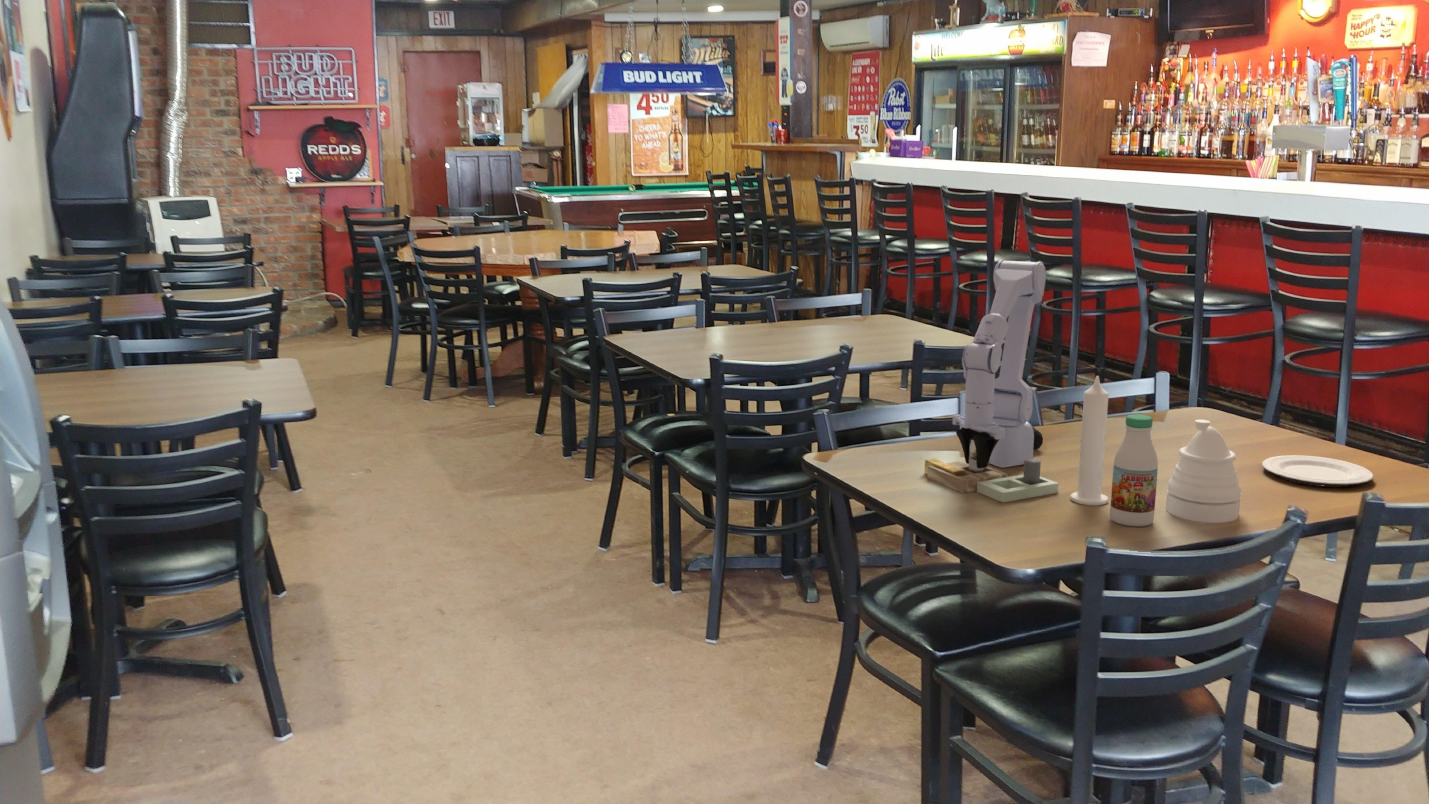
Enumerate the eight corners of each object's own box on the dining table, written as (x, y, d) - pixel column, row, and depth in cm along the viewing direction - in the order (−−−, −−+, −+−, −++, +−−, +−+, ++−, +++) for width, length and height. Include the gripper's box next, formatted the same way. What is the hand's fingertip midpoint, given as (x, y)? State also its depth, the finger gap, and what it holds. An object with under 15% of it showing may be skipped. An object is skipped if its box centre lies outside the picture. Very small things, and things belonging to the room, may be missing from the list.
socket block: (969, 470, 245) (970, 459, 245) (1006, 485, 235) (1007, 473, 234) (927, 477, 240) (927, 466, 240) (963, 492, 230) (963, 481, 229)
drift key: (933, 471, 244) (934, 458, 244) (963, 484, 236) (963, 470, 235) (924, 473, 243) (925, 459, 243) (953, 485, 235) (954, 471, 234)
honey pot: (1202, 526, 209) (1211, 431, 205) (1150, 506, 221) (1158, 416, 217) (1254, 517, 214) (1263, 424, 210) (1200, 497, 226) (1209, 409, 222)
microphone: (968, 449, 274) (1036, 457, 258) (962, 428, 272) (1029, 434, 256) (982, 439, 277) (1050, 446, 261) (976, 418, 275) (1044, 423, 259)
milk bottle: (1102, 514, 216) (1110, 412, 211) (1142, 513, 217) (1150, 411, 212) (1120, 528, 208) (1128, 422, 204) (1160, 526, 209) (1169, 421, 205)
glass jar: (976, 477, 240) (978, 436, 238) (986, 481, 237) (988, 440, 235) (964, 479, 239) (966, 438, 237) (974, 483, 236) (976, 441, 234)
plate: (1383, 475, 240) (1385, 467, 240) (1357, 498, 225) (1358, 489, 225) (1278, 457, 254) (1279, 449, 254) (1247, 478, 239) (1247, 469, 239)
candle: (1089, 507, 220) (1097, 381, 215) (1062, 497, 226) (1070, 374, 221) (1115, 502, 223) (1125, 377, 218) (1088, 492, 229) (1097, 370, 224)
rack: (1030, 482, 237) (1032, 454, 235) (1058, 492, 230) (1059, 463, 228) (976, 491, 231) (978, 462, 229) (1002, 502, 224) (1004, 473, 222)
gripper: (941, 396, 239) (939, 458, 242) (986, 410, 226) (983, 476, 229) (969, 393, 242) (966, 454, 245) (1014, 406, 229) (1011, 471, 232)
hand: (976, 465), depth 237 cm, fingers closed on glass jar, 3 cm apart
